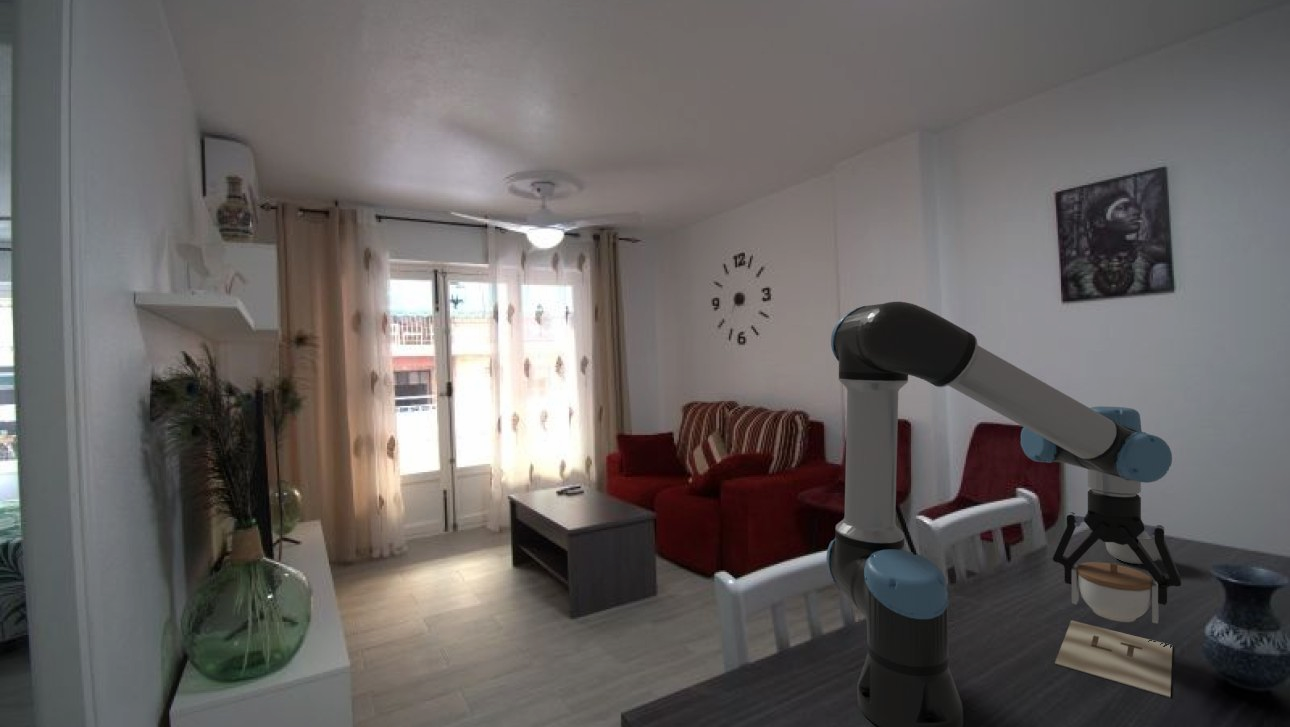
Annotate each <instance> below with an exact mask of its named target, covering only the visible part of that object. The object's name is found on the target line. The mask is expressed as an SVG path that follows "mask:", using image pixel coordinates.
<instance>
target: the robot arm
mask: <svg viewBox="0 0 1290 727" xmlns="http://www.w3.org/2000/svg"><path fill="white" fill-rule="evenodd" d="M830 337H831V338H830V347H831V350H832V354H833V356H834V357H835V358H836V361H838V381H840V383H842V385H843V386H844V387H845V388H846V390H847V392H846V393H847V394H846V428H845V429H846V431H845V432H846V436H845V442H846V443H845V480H844V481H845V482H844V487H845V488H844V517H843V519H841V521H839V522H838V523H837V524H836V525H835V532H834V533H835V535H834V537H835V538H834V539H833V540H831V541H830V543H829V545H828V548H827V550H826V567H827V570H828V572H829V575H830V577H831V578H832V581H833V582H834V583H835V586H836V587H837V588H838V590H840V591H841V592H842V593H843V595H844V596H846V597H847V598H848V599H849V601H851V603H852V604H853V605H854V607H856V608H857V609H858V610H859V612H860V613H862V614H863V616H864V618H865V619H866V636H867V638H866V640H867V654H866V659H865V660H864V664H863V667H862V669H861V673H860V676H859V677H858V678H859V679H858V681H857V687H856V689H857V690H856V692H857V705H858V707H859V709H860V711H861V712H862V714H863V715H864V716H865V717H866V718H867V719H868V720H869V721H871V723H873V724H874V725H876V726H877V727H963V726H964V708H963V702H962V701H961V696H960V694H959V691H958V688H957V686H956V684H955V681H954V678H953V675H952V673H951V670H950V665H949V660H950V659H949V610H948V608H949V607H948V606H949V600H950V598H949V591H948V588H947V586H948V585H947V580H946V576H945V574H944V573H943V571H942V569H941V568H940V567H939V565H938V564H936V563H935V562H934V561H933V560H931V559H929V558H927V557H925V556H923V555H921V554H914V552H911V551H907V550H905V533H904V532H903V531H902V530H901V529H900V528H899V527H898V526H897V524H896V508H897V507H896V505H897V504H896V502H897V501H896V500H897V464H898V462H897V460H898V427H899V426H898V424H899V423H898V421H899V392H900V390H901V389H902V388H903V387H904V386H906V384H908V383H909V376H911V377H912V376H913V377H916V378H918V379H921V380H924V381H926V382H928V383H930V384H931V385H933V386H935V387H937V388H944V387H950V388H952V389H954V390H956V391H957V392H960V393H961V394H963V395H965V396H967V397H969V398H971V399H972V400H974V401H976V402H977V403H979V404H981V405H983V406H985V407H987V408H989V409H991V410H992V411H994V412H996V413H998V414H999V415H1002V416H1003V417H1005V418H1007V419H1008V420H1011V421H1012V422H1015V423H1016V424H1018V425H1020V426H1021V427H1022V429H1021V432H1020V446H1021V448H1022V451H1023V453H1024V455H1025V456H1027V458H1028V459H1030V460H1032V461H1033V462H1038V463H1039V462H1040V463H1048V464H1051V463H1063V464H1068V465H1072V466H1076V467H1079V468H1083V469H1086V470H1087V487H1088V488H1089V490H1088V491H1087V513H1086V514H1085V515H1082V514H1081V515H1080V514H1076V513H1075V512H1069V513H1068V514H1067V516H1066V528H1065V530H1064V532H1063V534H1062V537H1061V538H1060V541H1059V543H1058V545H1057V548H1056V550H1055V552H1054V554H1053V556H1052V560H1053V562H1054V563H1058V564H1060V565H1061V566H1063V568H1064V582H1065V584H1067V585H1071V604H1072V605H1077V604H1078V602H1079V584H1078V573H1077V566H1078V565H1076V563H1077V562H1078V561H1079V560H1080V559H1081V558H1082V557H1083V556H1084V555H1085V553H1087V551H1088V550H1089V549H1090V548H1092V546H1093V545H1094V544H1095V543H1097V541H1098V540H1100V541H1102V542H1104V543H1106V542H1114V543H1117V544H1120V545H1124V544H1128V545H1129V547H1130V548H1131V549H1132V550H1133V551H1134V552H1135V554H1136V555H1137V556H1138V558H1139V559H1140V561H1141V562H1142V563H1143V565H1142V566H1144V567H1145V569H1146V571H1148V573H1149V574H1150V577H1152V579H1153V584H1152V597H1151V623H1153V624H1159V605H1162V606H1163V605H1164V606H1166V605H1167V604H1168V588H1169V587H1180V586H1181V585H1182V577H1181V575H1180V572H1179V570H1178V568H1177V566H1176V563H1175V561H1174V559H1173V556H1172V553H1171V551H1170V549H1169V547H1168V544H1167V542H1166V540H1165V527H1164V526H1163V525H1161V524H1160V525H1159V524H1157V525H1155V526H1154V525H1150V524H1149V525H1148V524H1144V523H1143V520H1142V505H1141V504H1142V497H1141V496H1140V495H1139V494H1140V493H1141V492H1142V491H1141V490H1142V486H1141V485H1142V483H1154V482H1157V481H1160V480H1161V479H1163V477H1165V476H1166V475H1167V473H1168V471H1169V470H1170V467H1171V466H1172V462H1173V455H1172V454H1173V453H1172V451H1171V448H1170V446H1169V445H1168V443H1167V442H1166V441H1165V440H1164V439H1162V438H1160V437H1159V436H1157V435H1154V434H1149V433H1147V432H1144V431H1142V422H1141V414H1140V412H1139V411H1137V410H1136V409H1134V408H1131V407H1124V406H1123V407H1121V406H1092V407H1089V406H1087V405H1085V404H1083V403H1081V402H1079V401H1078V400H1076V399H1074V398H1072V397H1071V396H1069V395H1068V394H1066V393H1064V392H1062V391H1060V390H1058V389H1057V388H1056V387H1053V386H1051V385H1050V384H1047V383H1046V382H1044V381H1042V380H1041V379H1038V378H1037V377H1035V376H1033V375H1032V374H1030V373H1028V372H1026V371H1024V370H1022V369H1021V368H1019V367H1017V366H1015V365H1013V364H1012V363H1011V362H1008V361H1007V360H1006V359H1005V360H1004V359H1003V358H1002V357H999V356H998V355H996V354H994V353H992V352H991V351H989V350H987V349H985V348H984V347H982V346H980V345H978V339H977V337H976V336H975V335H974V334H973V333H971V332H969V331H967V330H966V329H964V328H963V327H960V326H959V325H957V324H955V323H953V322H951V321H949V320H948V319H945V317H942V316H940V315H939V314H936V313H935V312H932V311H931V310H929V309H927V308H925V307H922V306H920V305H917V304H914V303H911V302H910V303H909V302H905V301H890V302H885V303H879V304H871V305H870V304H869V305H862V306H859V307H856V308H855V309H853V310H850V311H849V312H847V313H845V314H844V315H842V317H841V318H840V319H838V321H837V322H836V324H835V326H834V327H833V329H832V332H831V336H830ZM1082 523H1085V524H1086V526H1087V527H1088V528H1089V529H1090V530H1091V532H1090V533H1089V534H1088V535H1087V537H1086V538H1085V539H1084V540H1083V541H1082V542H1081V543H1080V544H1079V545H1078V546H1076V548H1075V550H1074V551H1073V552H1072V553H1070V555H1069V556H1068V557H1067V556H1065V555H1064V554H1065V552H1066V550H1067V548H1068V545H1069V543H1070V541H1071V539H1072V537H1073V534H1074V532H1075V531H1076V528H1077V527H1080V526H1081V525H1082ZM1143 531H1145V532H1147V533H1148V535H1149V537H1150V538H1152V539H1155V544H1156V547H1157V549H1158V551H1159V554H1160V555H1159V557H1161V558H1160V559H1161V561H1162V563H1163V565H1164V569H1165V570H1166V573H1167V574H1168V576H1165V574H1164V573H1163V571H1162V570H1161V568H1159V566H1158V565H1157V563H1155V562H1156V561H1153V560H1152V558H1151V557H1150V556H1149V554H1148V553H1147V551H1146V550H1145V549H1144V547H1143V546H1142V544H1141V543H1140V541H1139V540H1138V538H1137V537H1138V536H1139V535H1140V534H1141V533H1142V532H1143Z"/></svg>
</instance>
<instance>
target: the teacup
mask: <svg viewBox="0 0 1290 727" xmlns="http://www.w3.org/2000/svg"><path fill="white" fill-rule="evenodd" d="M1137 538H1138V540H1139V541H1140V543H1141V544H1142V546H1143V547H1144V549H1145V550H1146V551H1147V553H1148V554H1149V556H1150V557H1151V558H1152V560H1153V561H1154V562H1156V561H1157V560H1158V559H1159V557H1160V554H1159V551H1158V549H1157V547H1156V544H1155V539H1152V538H1150V537H1149V535H1148V533H1147V532H1145V531H1143V532H1142V533H1141V534H1140V535H1139V536H1138V537H1137ZM1105 548H1106V550H1107V552H1108V553H1109V555H1111V556H1112V557H1113V558H1115V559H1116V558H1117V559H1119V560H1121V561H1125V562H1129V563H1137V564H1143V563H1142V562H1141V561H1140V559H1139V558H1138V556H1137V555H1136V554H1135V552H1134V551H1133V550H1132V549H1131V548H1130V547H1129V545H1128V544H1124V545H1120V544H1117V543H1114V542H1105ZM1117 559H1116V560H1117ZM1119 560H1118V561H1119ZM1121 561H1120V562H1121Z"/></svg>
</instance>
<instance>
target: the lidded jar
mask: <svg viewBox="0 0 1290 727" xmlns="http://www.w3.org/2000/svg"><path fill="white" fill-rule="evenodd" d="M1076 566H1077V573H1078V590H1079V592H1080V596H1081V597H1082V599H1083V601H1084V602H1085V603H1086V605H1087V606H1088V607H1089V608H1090V609H1091V610H1092V612H1093V613H1094V614H1096V615H1097V616H1099V617H1101V618H1104V619H1106V620H1110V621H1113V622H1114V621H1115V622H1120V623H1133V622H1135V621H1136V619H1139V618H1140V617H1141V616H1143V615H1145V613H1146V612H1147V611H1148V610H1149V607H1150V606H1151V603H1152V584H1153V581H1154V579H1153V578H1151V577H1152V576H1150V575H1148V574H1147V573H1145V572H1142V571H1141V570H1138V569H1135V568H1131V567H1128V566H1124V565H1120V564H1117V563H1115V562H1099V561H1092V562H1090V561H1089V562H1087V561H1086V562H1082V563H1079V564H1078V565H1076Z"/></svg>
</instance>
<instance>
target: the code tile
mask: <svg viewBox="0 0 1290 727" xmlns="http://www.w3.org/2000/svg"><path fill="white" fill-rule="evenodd" d="M1149 640H1150V639H1149V638H1145V637H1141V636H1137V635H1136V636H1135V635H1132V634H1129V633H1128V634H1127V633H1124V632H1119V631H1116V630H1111V629H1108V628H1104V627H1100V626H1096V625H1091V624H1088V623H1084V622H1079V621H1075V620H1070V623H1069V626H1068V628H1067V630H1066V633H1065V636H1064V638H1063V641H1062V644H1061V646H1060V648H1059V651H1058V654H1057V656H1056V658H1055V662H1054V665H1058V666H1061V667H1065V668H1067V669H1072V670H1073V671H1074V670H1075V671H1078V672H1080V673H1081V672H1082V673H1085V674H1088V675H1090V676H1091V675H1092V676H1096V677H1099V678H1101V679H1105V680H1109V681H1112V682H1116V683H1118V684H1123V685H1125V686H1130V687H1132V688H1135V689H1139V690H1143V691H1146V692H1149V693H1153V694H1156V695H1160V696H1163V697H1167V698H1171V693H1172V691H1171V688H1172V668H1173V667H1172V666H1173V663H1172V662H1173V646H1172V647H1171V648H1170V645H1171V644H1169V643H1168V644H1169V645H1167V646H1165V647H1163V646H1164V645H1165V642H1162V641H1157V640H1155V641H1156V642H1153V641H1154V639H1151V640H1152V641H1149ZM1148 641H1149V642H1148ZM1161 643H1163V644H1161ZM1160 644H1161V645H1160Z"/></svg>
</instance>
